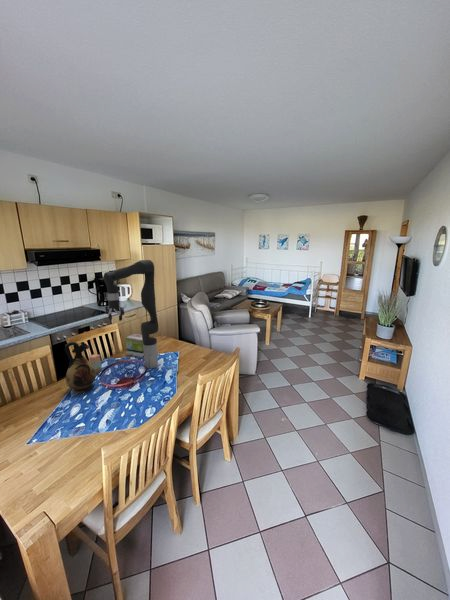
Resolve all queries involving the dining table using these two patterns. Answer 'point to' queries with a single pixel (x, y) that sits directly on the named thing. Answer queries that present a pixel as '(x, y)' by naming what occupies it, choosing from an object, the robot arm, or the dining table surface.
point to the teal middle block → (96, 365)
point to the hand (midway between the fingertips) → (115, 320)
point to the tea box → (135, 345)
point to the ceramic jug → (79, 369)
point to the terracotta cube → (94, 358)
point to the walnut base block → (98, 370)
